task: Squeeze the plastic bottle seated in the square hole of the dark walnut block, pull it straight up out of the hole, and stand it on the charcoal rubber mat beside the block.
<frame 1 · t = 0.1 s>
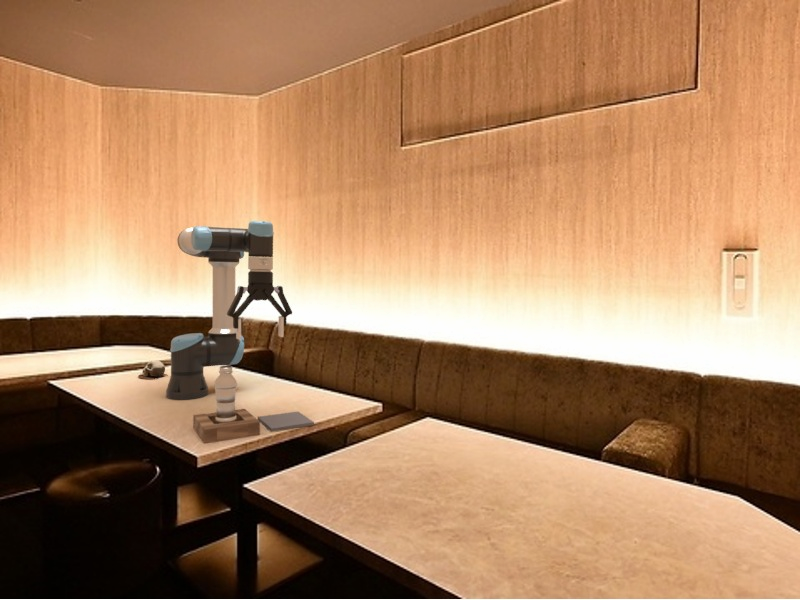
hand: (260, 337, 169), 28 cm above the table, fingers open, 13 cm apart
charcoal mat: (285, 422, 173), on the table
skull: (153, 377, 235), on the table
plastic bottle: (225, 431, 163), resting in walnut block
walnut block: (225, 431, 163), on the table
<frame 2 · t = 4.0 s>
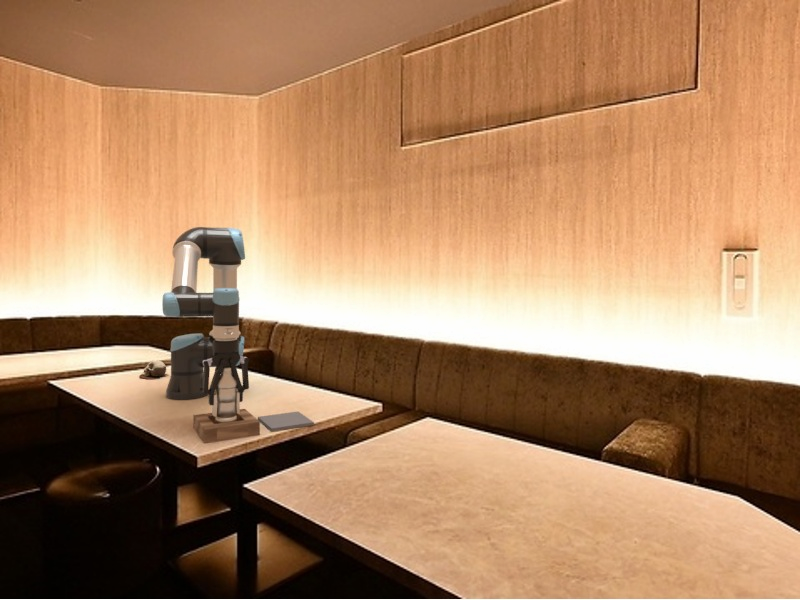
hand: (225, 413, 163), 5 cm above the table, fingers closed on plastic bottle, 6 cm apart
plastic bottle: (225, 431, 163), resting in walnut block, touching gripper
everything else where it was.
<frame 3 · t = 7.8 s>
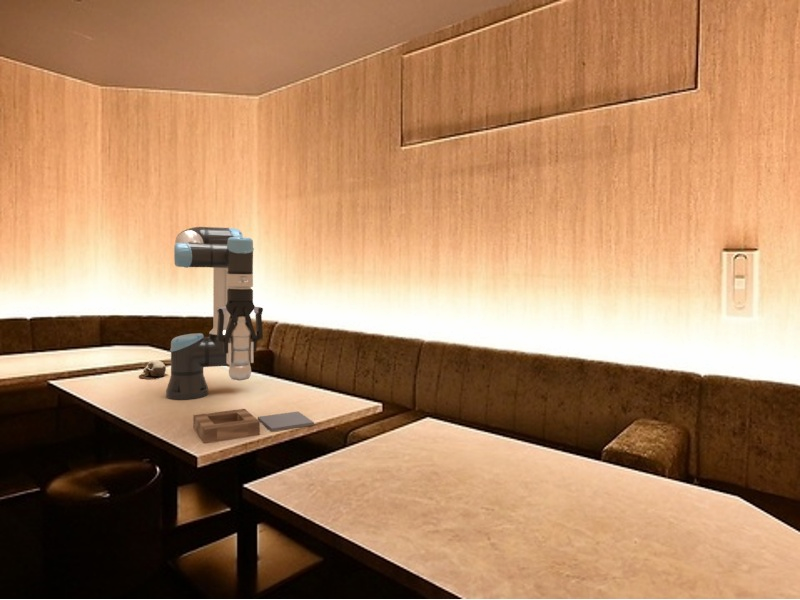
hand: (240, 362, 164), 21 cm above the table, fingers closed on plastic bottle, 6 cm apart
plastic bottle: (239, 380, 164), point 15 cm above the table, touching gripper
everything else where it was.
when the fingers open (7 cm above the table, at t = 11.9 s): plastic bottle stays where it is, resting on charcoal mat.
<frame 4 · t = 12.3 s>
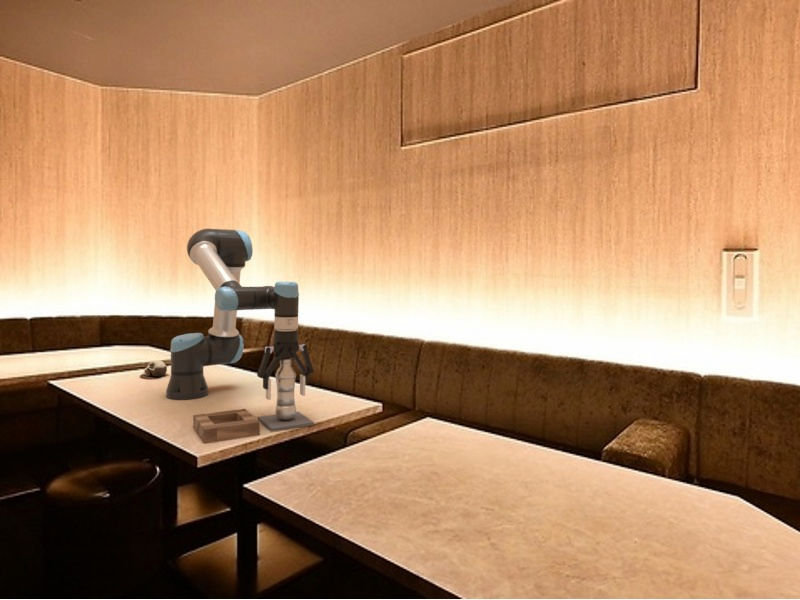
hand: (285, 396, 173), 8 cm above the table, fingers open, 11 cm apart
plastic bottle: (285, 419, 173), point 1 cm above the table, touching charcoal mat
everything else where it was.
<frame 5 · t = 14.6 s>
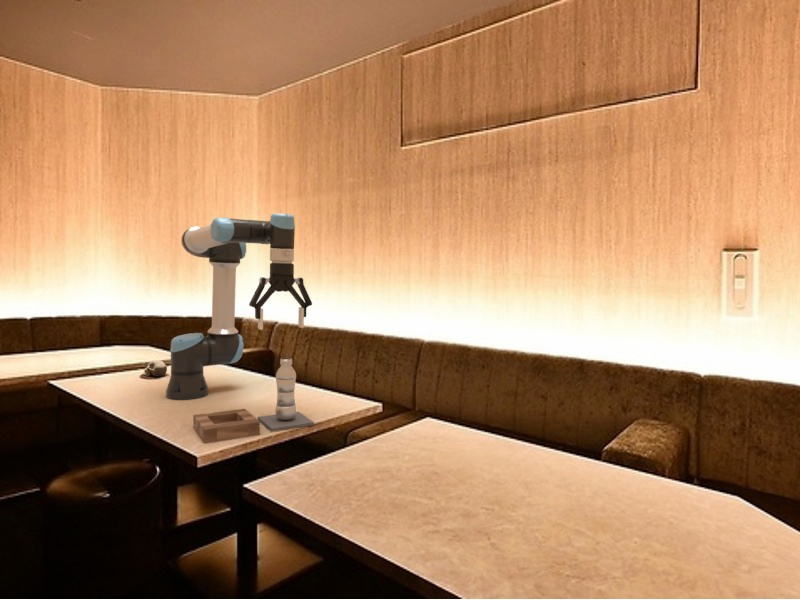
hand: (281, 328, 172), 31 cm above the table, fingers open, 13 cm apart
nothing on the table moved.
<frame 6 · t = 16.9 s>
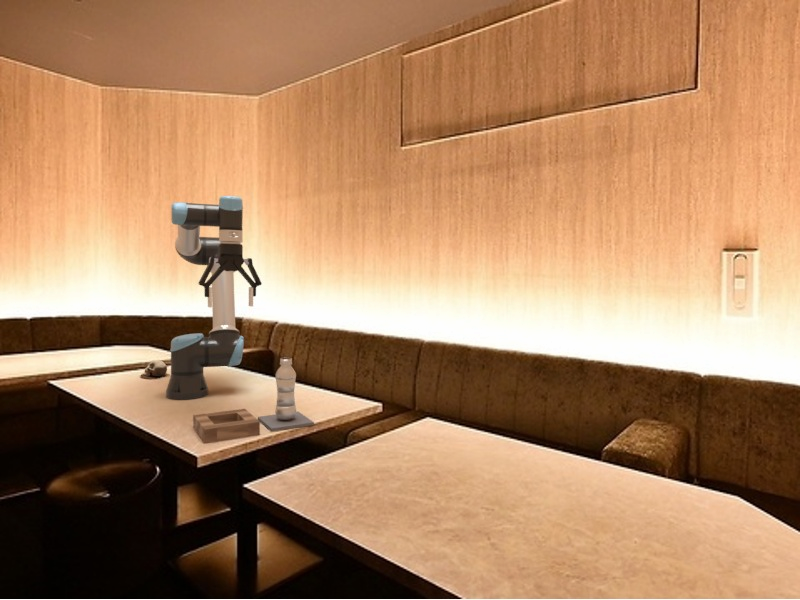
hand: (230, 306, 179), 37 cm above the table, fingers open, 13 cm apart
nothing on the table moved.
at the end: plastic bottle inside the target area on the charcoal mat (0.1 cm from its centre), point 0.8 cm above the charcoal mat's base; plastic bottle tilted 0°; the gripper is holding nothing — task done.
